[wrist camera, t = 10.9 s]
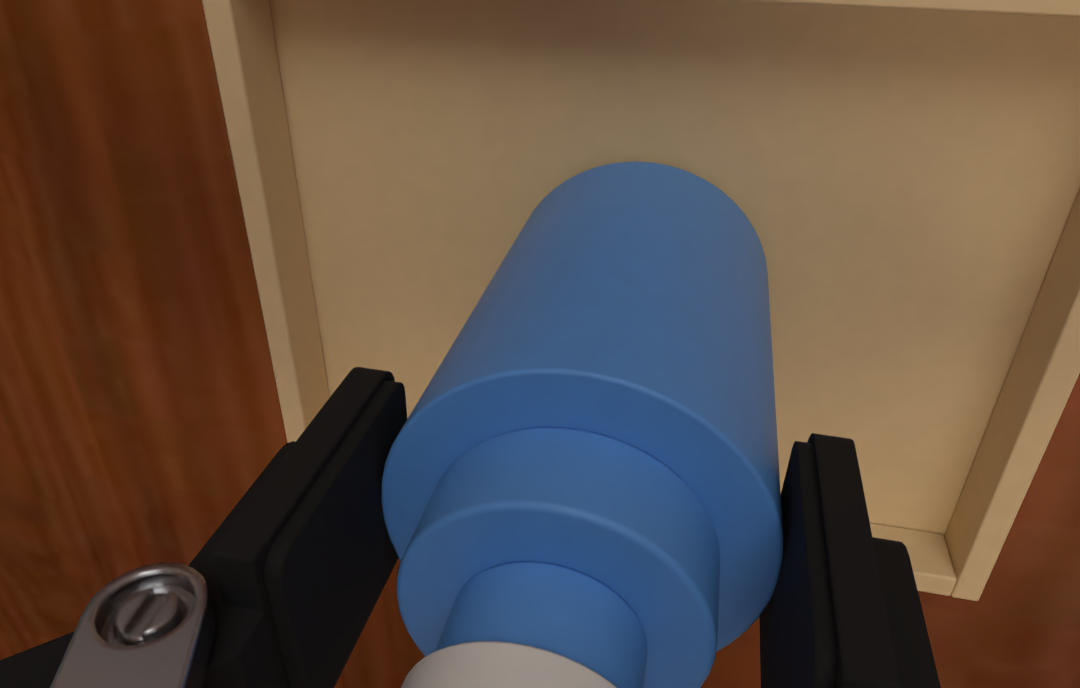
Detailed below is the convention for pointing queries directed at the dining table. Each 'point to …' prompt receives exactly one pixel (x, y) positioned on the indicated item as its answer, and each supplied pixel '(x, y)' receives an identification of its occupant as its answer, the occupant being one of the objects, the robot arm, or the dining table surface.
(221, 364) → the dining table surface
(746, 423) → the bottle
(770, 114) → the tray
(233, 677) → the robot arm
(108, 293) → the dining table surface
